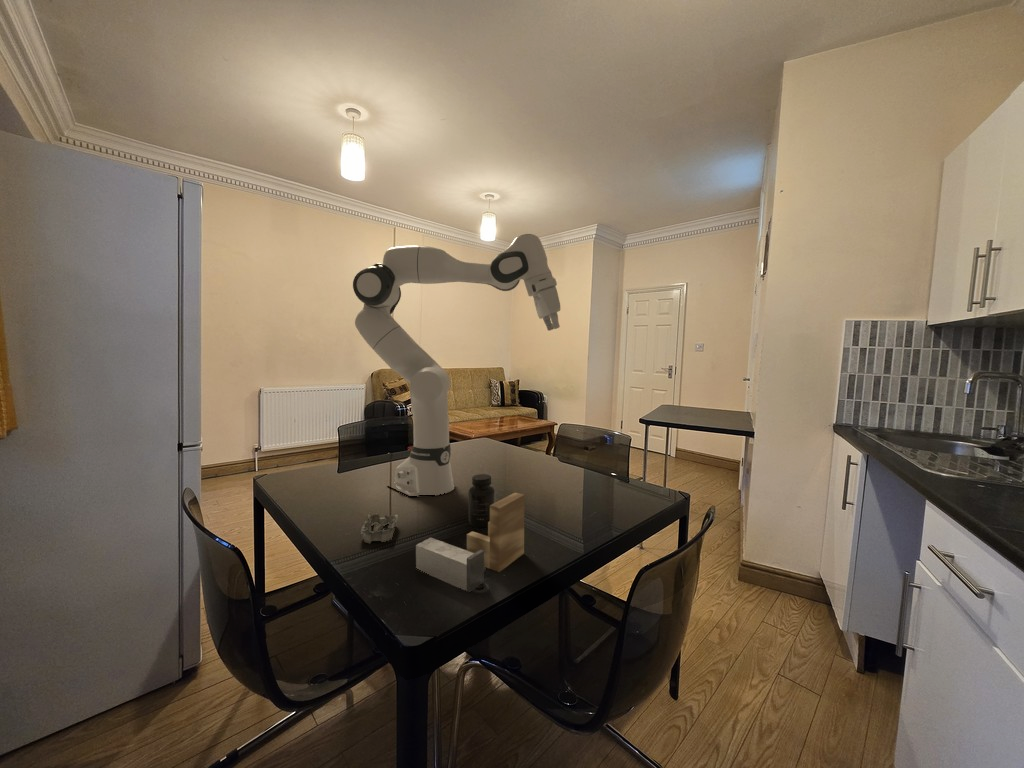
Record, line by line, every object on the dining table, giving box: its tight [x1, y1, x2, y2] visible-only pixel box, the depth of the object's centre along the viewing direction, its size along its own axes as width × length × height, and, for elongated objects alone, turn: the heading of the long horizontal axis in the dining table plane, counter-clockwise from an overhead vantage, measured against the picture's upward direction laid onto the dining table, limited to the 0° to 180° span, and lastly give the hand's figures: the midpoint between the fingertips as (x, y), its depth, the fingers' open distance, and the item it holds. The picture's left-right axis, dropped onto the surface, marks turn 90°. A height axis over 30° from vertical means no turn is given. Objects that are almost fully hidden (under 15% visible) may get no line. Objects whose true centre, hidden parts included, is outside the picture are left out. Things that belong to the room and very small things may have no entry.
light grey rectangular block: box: [415, 537, 485, 593], centre depth 77 cm, size 14×4×6 cm, turn 56°
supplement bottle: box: [467, 473, 496, 528], centre depth 102 cm, size 7×7×12 cm
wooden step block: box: [466, 492, 525, 573], centre depth 84 cm, size 8×9×13 cm
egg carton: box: [360, 511, 399, 541], centre depth 95 cm, size 11×8×4 cm
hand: (553, 329), depth 125 cm, fingers open, 8 cm apart
